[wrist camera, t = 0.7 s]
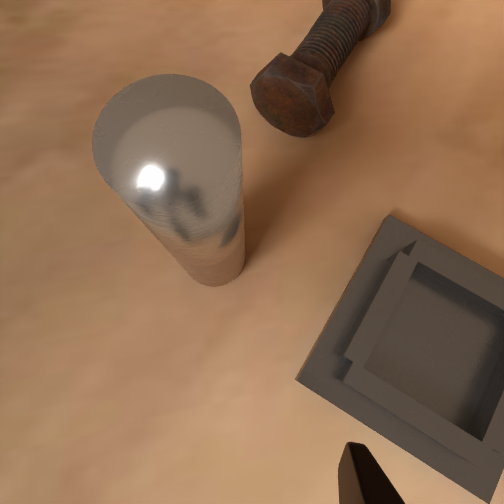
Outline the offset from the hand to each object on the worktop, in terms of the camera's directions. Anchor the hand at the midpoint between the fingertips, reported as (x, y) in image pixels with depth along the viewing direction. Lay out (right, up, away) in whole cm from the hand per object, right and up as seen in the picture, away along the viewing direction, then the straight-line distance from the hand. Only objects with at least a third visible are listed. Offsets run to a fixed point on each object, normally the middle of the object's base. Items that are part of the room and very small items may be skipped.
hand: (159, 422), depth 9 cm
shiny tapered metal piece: (0, +4, +15) cm, 15 cm away
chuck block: (+13, -2, +13) cm, 19 cm away
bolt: (+8, +19, +19) cm, 28 cm away
